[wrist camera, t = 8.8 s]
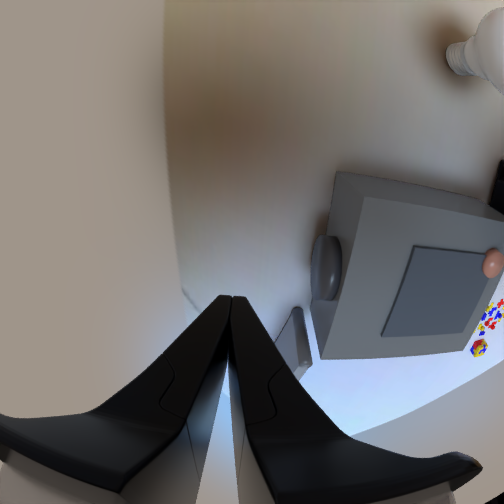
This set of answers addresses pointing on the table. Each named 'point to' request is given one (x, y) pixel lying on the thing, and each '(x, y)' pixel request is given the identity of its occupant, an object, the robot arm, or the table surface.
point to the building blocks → (481, 345)
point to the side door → (295, 344)
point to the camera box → (402, 269)
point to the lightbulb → (482, 51)
